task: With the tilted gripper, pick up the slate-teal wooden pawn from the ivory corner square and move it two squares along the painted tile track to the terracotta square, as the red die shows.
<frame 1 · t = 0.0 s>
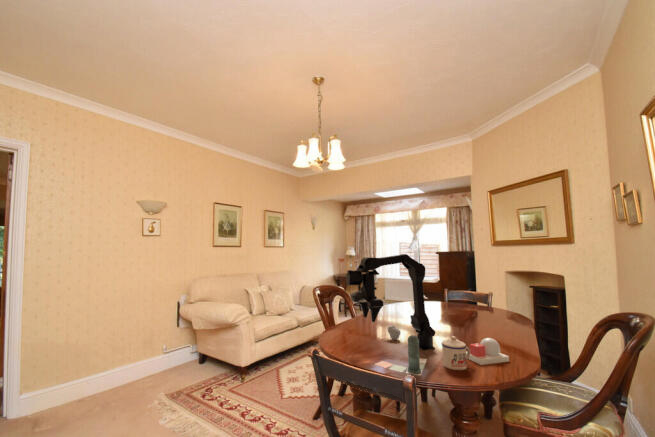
hand: (369, 319, 136), 15 cm above the table, tool pointing down, fingers open, 9 cm apart
pawn: (414, 371, 112), point 1 cm above the table, touching track
frog figurine: (394, 339, 155), on the table
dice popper: (485, 358, 126), on the table
teacup with lid: (457, 367, 118), on the table
track: (398, 369, 115), on the table
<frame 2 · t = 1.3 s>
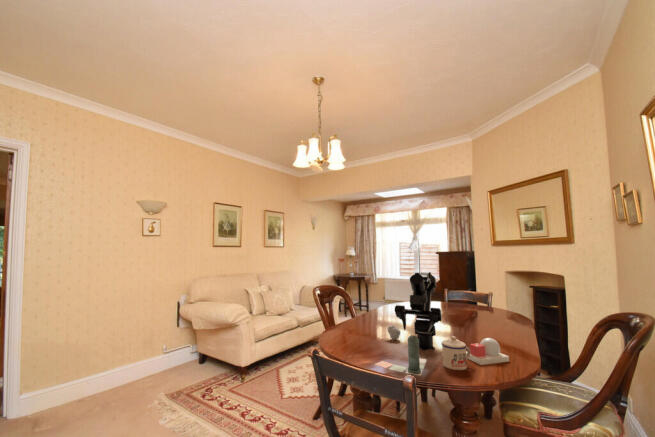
hand: (416, 331, 121), 13 cm above the table, tool tilted 45°, fingers open, 9 cm apart
nothing on the table moved.
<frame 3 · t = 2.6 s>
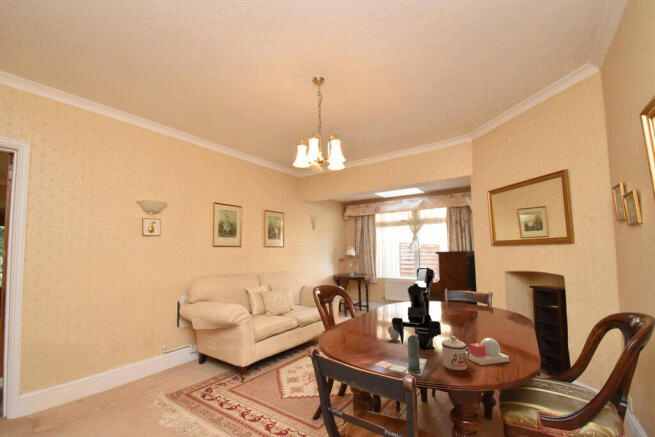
hand: (414, 345, 115), 10 cm above the table, tool tilted 45°, fingers open, 9 cm apart
nothing on the table moved.
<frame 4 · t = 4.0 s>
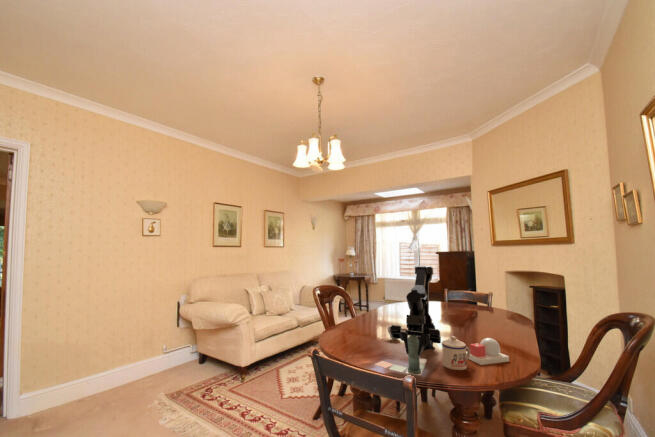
hand: (413, 354, 112), 7 cm above the table, tool tilted 45°, fingers closed on pawn, 4 cm apart
pawn: (414, 371, 112), point 1 cm above the table, touching gripper, track
everything else where it was.
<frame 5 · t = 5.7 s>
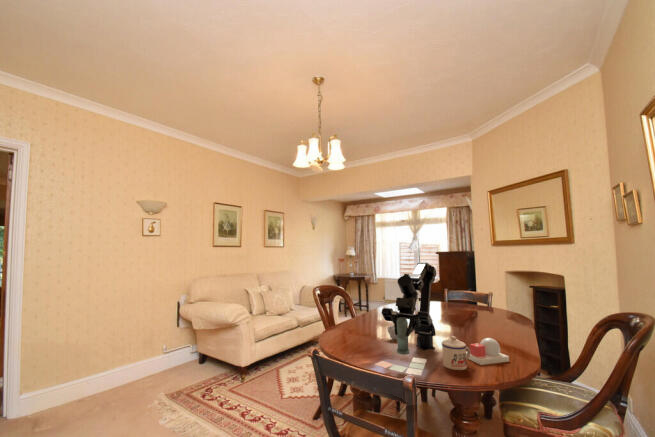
hand: (401, 335, 115), 13 cm above the table, tool tilted 45°, fingers closed on pawn, 4 cm apart
pawn: (403, 352, 115), point 7 cm above the table, touching gripper
everything else where it was.
when the fingers open (9 cm above the table, at t = 7.5 s): pawn drops 1 cm, resting on track.
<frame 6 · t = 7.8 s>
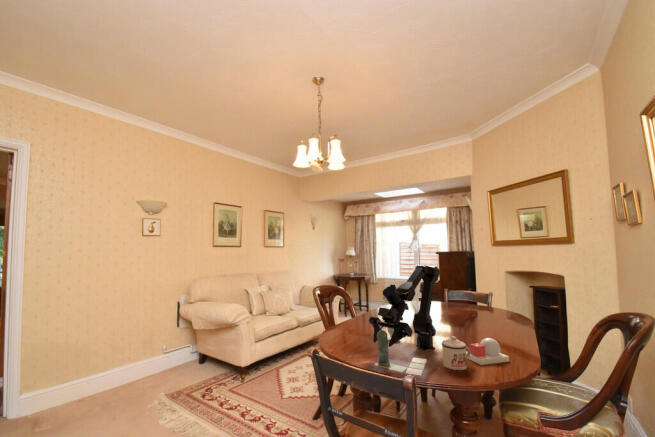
hand: (381, 344, 120), 9 cm above the table, tool tilted 45°, fingers open, 7 cm apart
pawn: (384, 363, 120), point 1 cm above the table, touching track
everything else where it was.
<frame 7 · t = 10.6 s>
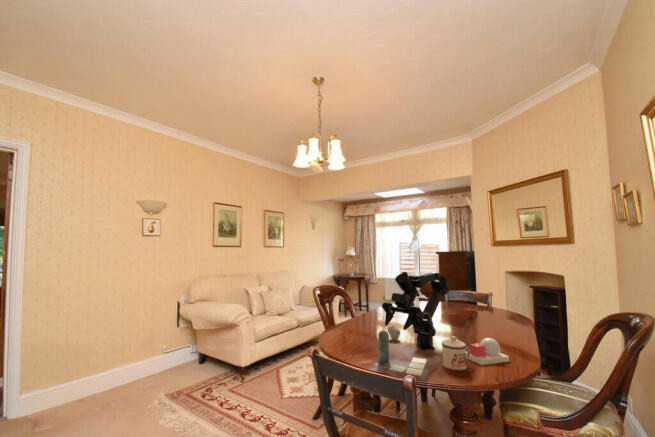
hand: (394, 327, 126), 14 cm above the table, tool tilted 45°, fingers open, 9 cm apart
nothing on the table moved.
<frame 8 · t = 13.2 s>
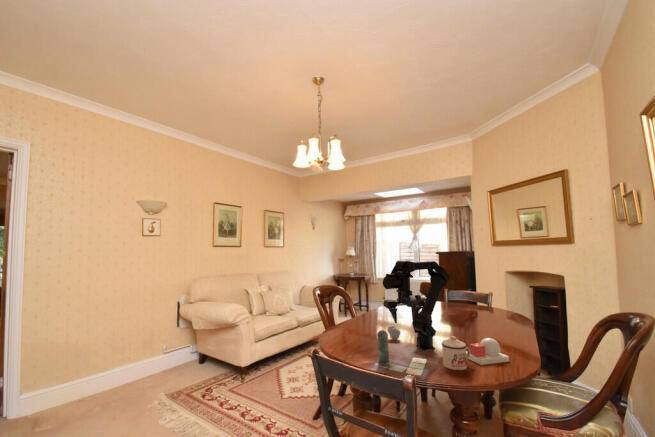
hand: (405, 322, 137), 13 cm above the table, tool pointing down, fingers open, 9 cm apart
nothing on the table moved.
at the end: pawn 0.0 cm from the target spot, point 0.7 cm above the table; pawn tilted 2°; the gripper is holding nothing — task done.
